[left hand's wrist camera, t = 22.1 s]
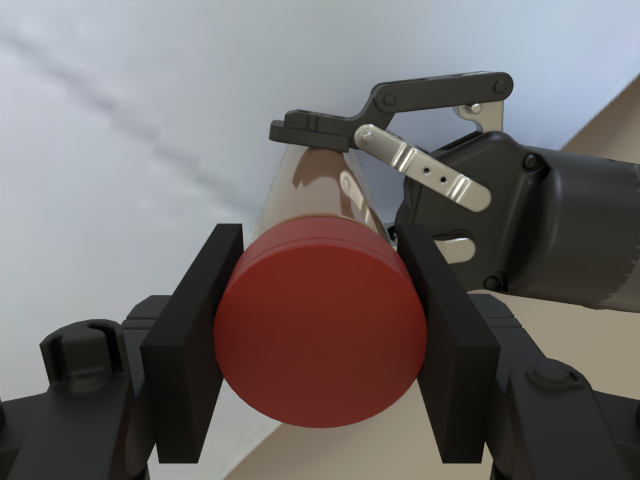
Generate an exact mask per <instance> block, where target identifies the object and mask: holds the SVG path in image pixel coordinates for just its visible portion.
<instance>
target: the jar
mask: <svg viewBox="0 0 640 480" xmlns="http://www.w3.org/2000/svg"><path fill="white" fill-rule="evenodd" d="M313 217H328V218H337V219H342V220H347V221H350V222H353V223H356V224H359V225H361V226H363V227H365V228H368V229H370V230H371V231H373V232H374V233H376V234H377V235H379V236H380V237H382V238H383V239H384V240H385V241H386V242H388V243H389V244H390V241H389V239H388V236H387V234H386V231H385V228H384V226H383V223H382V221H381V218H380V216H379V213H378V210H377V208H376V205H375V203H374V200H373V198H372V195H371V192H370V190H369V187H368V185H367V182H366V180H365V177H364V174H363V172H362V169H361V167H360V164H359V162H358V159H357V156H356V154H355V151H354V149H352V148H349V152H348V153H343V152H337V151H332V150H326V149H319V148H312V147H306V146H300V145H294V144H289V146H288V147H287V150H286V152H285V155H284V157H283V160H282V162H281V165H280V168H279V170H278V173H277V175H276V178H275V180H274V183H273V186H272V188H271V191H270V193H269V196H268V199H267V201H266V204H265V206H264V209H263V212H262V214H261V217H260V219H259V222H258V224H257V227H256V230H255V232H254V235H253V237H252V240H251V243H250V245H251V244H252V243H253V242H254V241H255V240H256V239H258V238H259V237H260V236H262V235H263V234H265V233H266V232H268V231H269V230H271V229H273V228H275V227H277V226H279V225H281V224H284V223H287V222H290V221H294V220H299V219H304V218H313ZM250 245H249V246H250ZM390 245H391V244H390Z"/></svg>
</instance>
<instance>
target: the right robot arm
mask: <svg viewBox="0 0 640 480" xmlns="http://www.w3.org/2000/svg"><path fill="white" fill-rule="evenodd" d="M512 90H513V80H512V78H511V76H510V75H509V74H507V73H504V72H492V71H479V72H470V73H462V74H453V75H444V76H435V77H427V78H418V79H409V80H401V81H392V82H383V83H379V84H377V85H375V86H374V87H373V88H372V90H371V93H370V97H369V99H368V101H367V103H366V104H365V106H364V108H363V109H362V111H361V112H360V113H359V114H358V115H356V116H354V117H341V116H335V115H329V114H323V113H317V112H311V111H305V110H299V109H297V110H293V111H289V112H287V113H286V114H285V119H284V121H280V120H273V122H272V123H271V126H270V134H269V139H270V140H272V141H276V142H282V143H288V144H294V145H300V146H306V147H312V148H319V149H326V150H332V151H337V152H343V153H348V152H349V148H352V149H358V150H362V151H364V152H366V153H368V154H370V155H372V156H374V157H376V158H377V159H379V160H381V161H383V162H385V163H387V164H389V165H390V166H392V167H394V168H395V169H396V170H398V171H399V172H401V173H403V174H405V179H404V200H403V202H402V204H401V206H400V208H399V209H398V211H397V214H396V218H395V222H391V223H385V224H383V226H384V228H385V231H386V234H387V236H388V239H389V241H390V244H391V246H392V248H393V249H394V250H395V251H396V252H397V238H398V224H423V225H424V226H425V228H426V229H427V231H428V232H429V234H430V236H431V237H432V239H433V240H434V242H435V243H436V245H437V247H438V248H439V250H440V251H441V253H442V254H443V256H444V258H445V259H446V261H447V262H448V264H449V265H450V267H451V269H452V270H453V272H454V273H455V275H456V276H457V278H458V280H459V281H460V283H461V284H462V286H463V287H464V289H465V291H466V292H468V291H472V290H478V289H485V290H490V291H494V292H497V293H501V294H506V295H513V296H520V297H527V298H534V299H541V300H548V301H555V302H561V303H568V304H575V305H582V306H584V307H586V308H590V309H595V310H599V309H601V310H604V309H609V310H616V311H624V312H634V313H640V164H634V163H628V162H622V161H616V160H610V159H605V158H598V157H593V156H586V155H580V154H574V153H568V152H562V151H556V150H550V149H544V148H538V147H532V146H526V145H522V144H519V143H517V142H516V141H515V140H514V139H513V138H512V137H511V136H509V135H508V134H506V133H504V132H503V104H504V99H506V98H507V97H508V96H509V95H510V94H511V92H512ZM444 107H453V111H454V113H455V114H456V115H457V116H458V117H460V118H462V119H465V120H470V121H473V122H474V123H475V125H476V128H477V131H475V132H472V133H470V134H468V135H466V136H464V137H462V138H460V139H458V140H456V141H454V142H452V143H450V144H448V145H446V146H443V147H441V148H439V149H437V150H435V151H433V152H431V153H430V152H428V151H427V150H425V149H423V148H421V147H419V146H417V145H416V144H414V143H412V142H410V141H408V140H406V139H405V138H403V137H401V136H398V135H396V134H394V133H393V132H391V131H389V130H387V129H386V128H387V126H388V125H389V123H390V121H391V120H392V118H393V116H394V114H395V113H399V112H408V111H417V110H426V109H435V108H444ZM395 233H396V234H395Z"/></svg>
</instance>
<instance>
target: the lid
mask: <svg viewBox="0 0 640 480" xmlns="http://www.w3.org/2000/svg"><path fill="white" fill-rule="evenodd" d="M213 334H214V345H215V354H216V360H217V363H218V366H219V369H220V371H221V373H222V374H223V376H224V378H225V380H226V381H227V383H228V384H229V386H230V387H231V388H232V389H233V391H234V392H235V393H236V394H237V395H238V396H239V397H240V398H241V399H242V400H243V401H245V402H246V403H247V404H248V405H249V406H251V407H252V408H254V409H256V410H257V411H259V412H260V413H262V414H264V415H266V416H268V417H270V418H272V419H275V420H278V421H280V422H283V423H287V424H291V425H295V426H301V427H308V428H332V427H339V426H345V425H350V424H353V423H357V422H360V421H363V420H365V419H368V418H371V417H372V416H374V415H376V414H378V413H380V412H382V411H384V410H385V409H386V408H388V407H389V406H391V405H392V404H394V403H395V402H396V401H397V400H398V399H399V398H400V397H402V396H403V394H404V393H405V392H406V391H407V390H408V389H409V388H410V386H411V385H412V383H413V382H414V380H415V379H416V378H417V376H418V374H419V372H420V370H421V368H422V365H423V362H424V358H425V350H426V339H427V319H426V315H425V312H424V309H423V306H422V303H421V301H420V299H419V296H418V294H417V292H416V289H415V287H414V284H413V282H412V280H411V277H410V275H409V273H408V271H407V268H406V266H405V264H404V262H403V261H402V259H401V258H400V256H399V255H398V253H397V252H396V251H395V250H394V249H393V248H392V246H391V245H390V244H389V243H388V242H386V241H385V240H384V239H383V238H382V237H380V236H379V235H377V234H376V233H374V232H373V231H371V230H370V229H368V228H365V227H363V226H361V225H359V224H356V223H353V222H350V221H347V220H342V219H337V218H328V217H313V218H304V219H299V220H294V221H290V222H287V223H284V224H281V225H279V226H277V227H275V228H273V229H271V230H269V231H268V232H266V233H265V234H263V235H262V236H260V237H259V238H258V239H256V240H255V241H254V242H253V243H252V244H251V245H250V246H249V247H248V248H247V249H246V250H245V252H244V253H243V254H242V255H241V257H240V258H239V260H238V262H237V263H236V265H235V267H234V269H233V272H232V274H231V276H230V279H229V281H228V283H227V286H226V288H225V291H224V293H223V295H222V298H221V300H220V303H219V305H218V307H217V311H216V314H215V318H214V323H213Z"/></svg>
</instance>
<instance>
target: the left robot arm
mask: <svg viewBox="0 0 640 480" xmlns="http://www.w3.org/2000/svg"><path fill="white" fill-rule="evenodd" d="M243 253H244V247H243V231H242V224H217V225H216V227H215V228H214V230H213V232H212V233H211V235H210V236H209V238H208V239H207V241H206V243H205V244H204V246H203V247H202V249H201V251H200V252H199V254H198V255H197V257H196V258H195V260H194V262H193V263H192V265H191V266H190V268H189V269H188V271H187V273H186V274H185V276H184V277H183V279H182V280H181V282H180V284H179V285H178V287H177V288H176V290H175V291H174V293H173V295H151V296H150V297H148V298H146V299H145V300H143V301H142V302H140V303H139V304H137V305H135V307H134V308H133V309H132V311H131V312H130V313H129V315H128V316H127V317H126V318H127V319H126V320H124V321H123V323H122V324H121V325H120V324H118V323H117V322H115V321H111V320H106V319H91V320H86V321H81V322H76V323H73V324H70V325H67V326H65V327H62V328H60V329H58V330H56V331H55V332H53V333H51V334H50V335H48V336H47V337H46V338H45V339H44V340H43V341H42V342H41V343H40V344H39V345H40V349H41V352H42V356H43V360H44V364H45V368H46V371H47V375H48V379H49V383H50V386H49V388H48V390H47V392H46V393H42V394H38V395H34V396H29V397H24V398H19V399H14V400H10V401H5V402H1V399H0V480H150V476H149V470H148V464H147V461H148V459H149V457H150V454H151V452H152V450H153V447H154V445H155V443H156V447H157V453H158V459H159V463H198V461H199V457H200V454H201V451H202V448H203V444H204V441H205V438H206V435H207V431H208V428H209V425H210V421H211V418H212V415H213V412H214V408H215V405H216V402H217V398H218V395H219V392H220V389H221V385H222V382H223V379H224V376H223V374H222V373H221V371H220V369H219V366H218V363H217V360H216V354H215V345H214V334H213V323H214V318H215V314H216V311H217V307H218V305H219V303H220V300H221V298H222V295H223V293H224V291H225V288H226V286H227V283H228V281H229V279H230V276H231V274H232V272H233V269H234V267H235V265H236V263H237V262H238V260H239V258H240V257H241V255H242V254H243ZM397 253H398V255H399V256H400V258H401V259H402V261H403V262H404V264H405V266H406V268H407V271H408V273H409V275H410V277H411V280H412V282H413V284H414V287H415V289H416V292H417V294H418V296H419V299H420V301H421V303H422V306H423V309H424V312H425V315H426V319H427V339H426V350H425V358H424V362H423V365H422V368H421V370H420V372H419V374H418V376H417V381H418V384H419V387H420V390H421V394H422V397H423V400H424V403H425V407H426V410H427V413H428V417H429V420H430V423H431V426H432V430H433V433H434V436H435V439H436V443H437V446H438V449H439V453H440V456H441V459H442V462H443V463H481V462H482V456H483V450H484V444H485V442H486V444H487V446H488V449H489V451H490V453H491V455H492V458H493V464H492V470H491V475H490V480H640V400H636V399H631V398H626V397H621V396H616V395H611V394H606V393H602V392H598V391H595V390H593V389H592V387H591V385H590V383H589V382H588V381H587V379H586V378H585V377H584V376H583V374H581V373H580V372H578V371H577V370H576V369H574V368H573V367H571V366H569V365H567V364H564V363H562V362H560V361H558V360H554V359H550V358H546V357H545V355H544V354H543V353H542V351H541V350H540V349H539V347H538V346H537V345H536V343H535V342H534V341H533V340H532V338H531V337H530V336H529V334H528V333H527V332H526V330H525V329H524V328H522V325H521V324H520V323H519V321H518V320H517V319H516V318H514V315H513V313H512V312H511V311H510V310H509V308H508V307H507V306H506V304H504V303H503V302H501V301H500V300H498V299H497V298H495V297H493V296H492V295H490V294H467V292H466V291H465V289H464V287H463V286H462V284H461V283H460V281H459V280H458V278H457V276H456V275H455V273H454V272H453V270H452V269H451V267H450V265H449V264H448V262H447V261H446V259H445V258H444V256H443V254H442V253H441V251H440V250H439V248H438V247H437V245H436V243H435V242H434V240H433V239H432V237H431V236H430V234H429V232H428V231H427V229H426V228H425V226H424V225H423V224H398V238H397Z"/></svg>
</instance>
